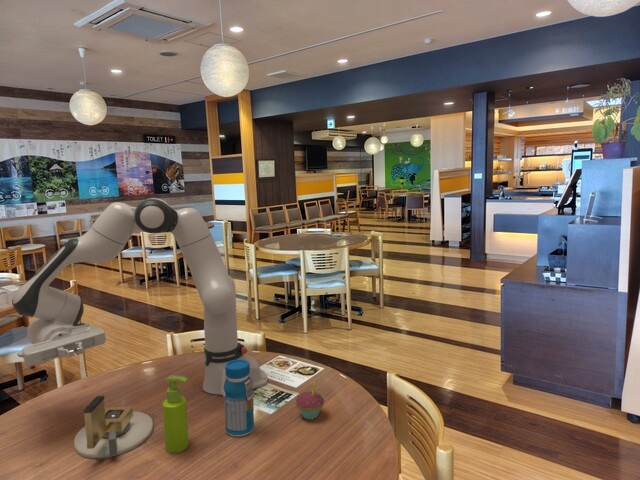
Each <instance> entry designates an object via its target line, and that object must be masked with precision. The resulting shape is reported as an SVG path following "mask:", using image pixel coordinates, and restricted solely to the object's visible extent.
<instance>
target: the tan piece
mask: <svg viewBox="0 0 640 480" xmlns="http://www.w3.org/2000/svg"><path fill="white" fill-rule="evenodd" d="M133 410H134V408H133V406H113V407H112V406H111V407H109V406H107V407H105V395H96V396H95V397H94V398H93V400H92V401H90V403H89V404H88V405H87V406H86V407H85V408H84V409H83V415H84V425H85V426H84V427H85V428H86V438H87V449H94V447H95V446H96V445H97V444H98V442H99V441H100V440H101V438H102V437H103V436H104V435H105V433H106V432H110V431H115V430H116V432H122V431H123V430H124V428H125V427H126V425H127V424H128V423H129V421H130V420H131V419H132V417H133ZM112 411H120V414H121V415H120V417H119V418H118V419H106V415H107V414H108V413H109V412H112Z"/></svg>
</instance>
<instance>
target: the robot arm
mask: <svg viewBox="0 0 640 480" xmlns="http://www.w3.org/2000/svg"><path fill="white" fill-rule="evenodd" d="M139 230H141V231H142V232H144V233H148V234H152V235H153V234H154V235H155V234H163V233H165V234H166V233H171V235H173V237H174V239H175V241H176V242H177V245H178V247H179V250H180V252H181V254H182V256H183V258H184V260H185V263H186V265H187V266H188V269H189V271H190V274H191V276H192V280H193V283H194V285H195V288H196V291H197V293H198V296H199V298H200V301H201V303H202V305H203V317H204V318H203V330H204V331H203V333H204V347H203V348H204V349H203V360H204V365H205V369H204V376H203V377H204V379H203V382H202V387H201V388H202V390H203V391H204V392H206V393H208V394H210V395H211V394H212V395H220V396H223V397H224V393H225V391H224V384H225V381H226V379H227V377H226V372H225V366H226V364H227V363H228V362H229V361H232V360H236V359H243V360H247V361H248V362H249V365H250V373H249V377H250V379H251V380H252V383H253V388H252V390H255V389H257V388H260V387H263V386H266V385H267V384H268V382H269V381H268V375H267V374H266V373H265V371H264V370H263V369H262V368H261V366H260V364H259V362H258V361H257V360H256V359H255V358H254V357H253V356H251V355H249V354H247V353H248V349H247V347H245V346H244V345H243V343H241V342H239V340H238V318H237V315H238V314H237V299H236V297H237V295H236V283H235V281H234V279H233V278H232V276H231V275H229V274H228V271H227V269H226V265H225V264H224V263H225V262H224V260H223V258H222V255H221V253H220V251H219V249H218V246H217V244H216V241H215V240H214V237H213V235H212V233H211V231H210V228H209V226H208V225H207V223H206V221H205V220H204V218H203V216H202V215H201V213H200V212H199V211H198V210H197V209H196V208H193V207H184V208H180V209H174V208H172V207H171V205H170V204H169V203H168V202H167V201H166V200H164V199H161V198H157V197H150V198H147V199H145V200H142V202H140V203H139V204H138V205H136V206H131V205H128V204H127V203H125V202H119V201H117V202H112V203H110V205H108V206H107V207H106V208H105V209H104V210H103V211H102V212H101V214H100V215H99V216H98V217H97V218H96V220H95V221H94V223H93V224H92V225H91V227H90V228H89V229H88V230H87V231H86V232H85V233H84V234H82V235H81V236H79V237H77V238H70V239H69V240H66V241H65V242H64V243H63V244H62V245H61V246H60V247H59V248H58V249H57V250H56V251H55V252H54V253H53V254H52V255H51V256H50V257H49V258H48V260H46V261H45V262H44V264H42V266H41V267H39V269H37V271H35V273H34V274H33V275H32V276H31V277H30V278H29V279H28V280H26V281H24V283H23V284H22V285H21V286H20V287H18V289H17V290H16V292H15V293H14V295H13V297H12V300H11V304H12V306H13V309H14V310H15V312H16V313H17V315H19V316H25V317H31V318H32V317H33V318H36V319H33V320H32V321H31V322H30V323H29V324H28V326H27V329H26V335H27V338H28V341H29V342H31V344H28V345H26V346H24V347H22V350H21V351H18V352H17V354H16V355H17V357H19V358H22V359H23V362H24V365H25V366H27V367H33V366H37V365H40V364H42V363H43V364H44V363H46V362H49V361H52V360H57V359H58V358H62V357H63V358H65V357H66V358H67V359H68V358H73V357H74V356H75V355H77V356H79V355H82V354H84V351H85V350H88V349H91V348H95V347H97V346H102V345H104V344H105V343H106V342H107V337H106V336H107V335H106V332H105V331H104V330H103V329H102V328H99V327H97V326H93V325H90V323H89V322H82V323H81V322H80V321H81V319H82V317H83V314H84V311H85V310H84V309H85V307H84V303H83V300H82V298H81V296H80V295H78V294H75V293H72V292H69V291H66V290H62V289H59V288H56V287H53V286H50V284H51V283H52V282H53V281H54V280H55V279H56V278H57V277H58V275H60V273H61V272H62V271H63V270H64V269H65V268H66V267H68V266H69V265H72V264H77V263H105V262H109V261H112V260H114V259H115V258H117V257H118V256H119V254H121V252H122V250H123V249H124V248H125V246H126V244H127V243H128V241H129V240H130V239H131V237H132V235H134V233H135V232H137V231H139Z"/></svg>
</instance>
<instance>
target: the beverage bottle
mask: <svg viewBox="0 0 640 480" xmlns="http://www.w3.org/2000/svg"><path fill="white" fill-rule="evenodd" d="M225 372H226V377H227V379H226V381H225V384H224V391H225V393H224V396H223V404H224V417H225V418H224V419H225V432H226V433H227V434H228V436H231V437H236V438H237V437H243V436H247V435H249V434H250V433H252V432H253V431H254V428H255V413H254V412H255V411H254V407H255V406H254V389H252V388H253V383H252V380H251V379H250V377H249V373H250V365H249V362H248V361H247V360H243V359H236V360H232V361H229V362H228V363H227V364H226V366H225Z"/></svg>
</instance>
